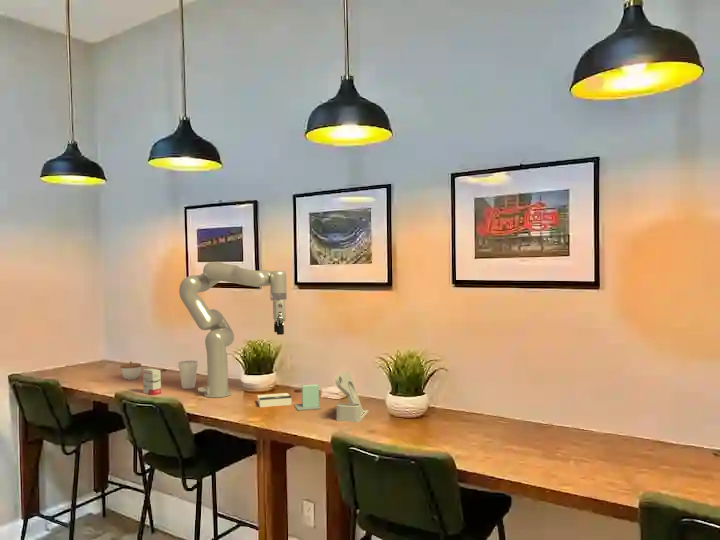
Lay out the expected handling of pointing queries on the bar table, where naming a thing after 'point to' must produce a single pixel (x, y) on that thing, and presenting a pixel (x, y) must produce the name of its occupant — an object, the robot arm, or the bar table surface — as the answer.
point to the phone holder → (353, 408)
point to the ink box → (152, 381)
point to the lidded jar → (131, 370)
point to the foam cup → (188, 373)
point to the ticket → (310, 395)
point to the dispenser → (274, 400)
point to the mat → (300, 407)
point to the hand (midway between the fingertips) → (278, 333)
